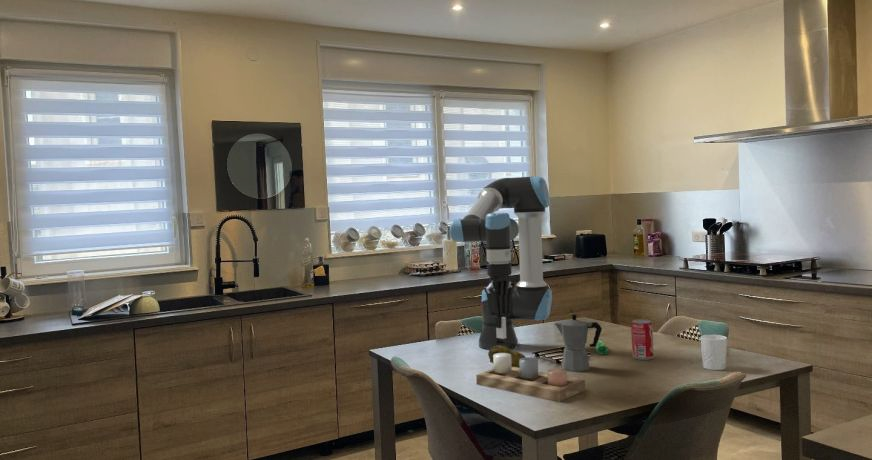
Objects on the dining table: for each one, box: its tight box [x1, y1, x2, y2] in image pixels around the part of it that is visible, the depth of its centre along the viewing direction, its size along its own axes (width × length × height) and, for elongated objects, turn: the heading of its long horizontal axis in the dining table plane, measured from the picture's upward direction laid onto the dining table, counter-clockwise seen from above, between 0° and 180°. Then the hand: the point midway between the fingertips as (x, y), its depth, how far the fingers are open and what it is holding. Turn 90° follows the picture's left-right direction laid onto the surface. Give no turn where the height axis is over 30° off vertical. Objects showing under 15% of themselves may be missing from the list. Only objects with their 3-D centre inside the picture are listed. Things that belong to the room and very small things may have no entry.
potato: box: [487, 346, 526, 368], centre depth 223 cm, size 8×13×8 cm, turn 89°
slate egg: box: [519, 356, 539, 378], centre depth 201 cm, size 6×6×5 cm
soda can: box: [630, 318, 655, 361], centre depth 230 cm, size 7×7×13 cm
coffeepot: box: [554, 313, 603, 373], centre depth 220 cm, size 15×9×18 cm, turn 68°
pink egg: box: [546, 368, 568, 387], centre depth 194 cm, size 6×6×5 cm
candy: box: [594, 338, 609, 356], centre depth 243 cm, size 12×3×4 cm
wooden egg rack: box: [475, 367, 586, 403], centre depth 201 cm, size 30×14×3 cm, turn 47°
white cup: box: [700, 334, 728, 371], centre depth 215 cm, size 8×8×10 cm
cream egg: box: [492, 353, 512, 373], centre depth 208 cm, size 6×6×5 cm
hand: (501, 337), depth 207 cm, fingers closed
